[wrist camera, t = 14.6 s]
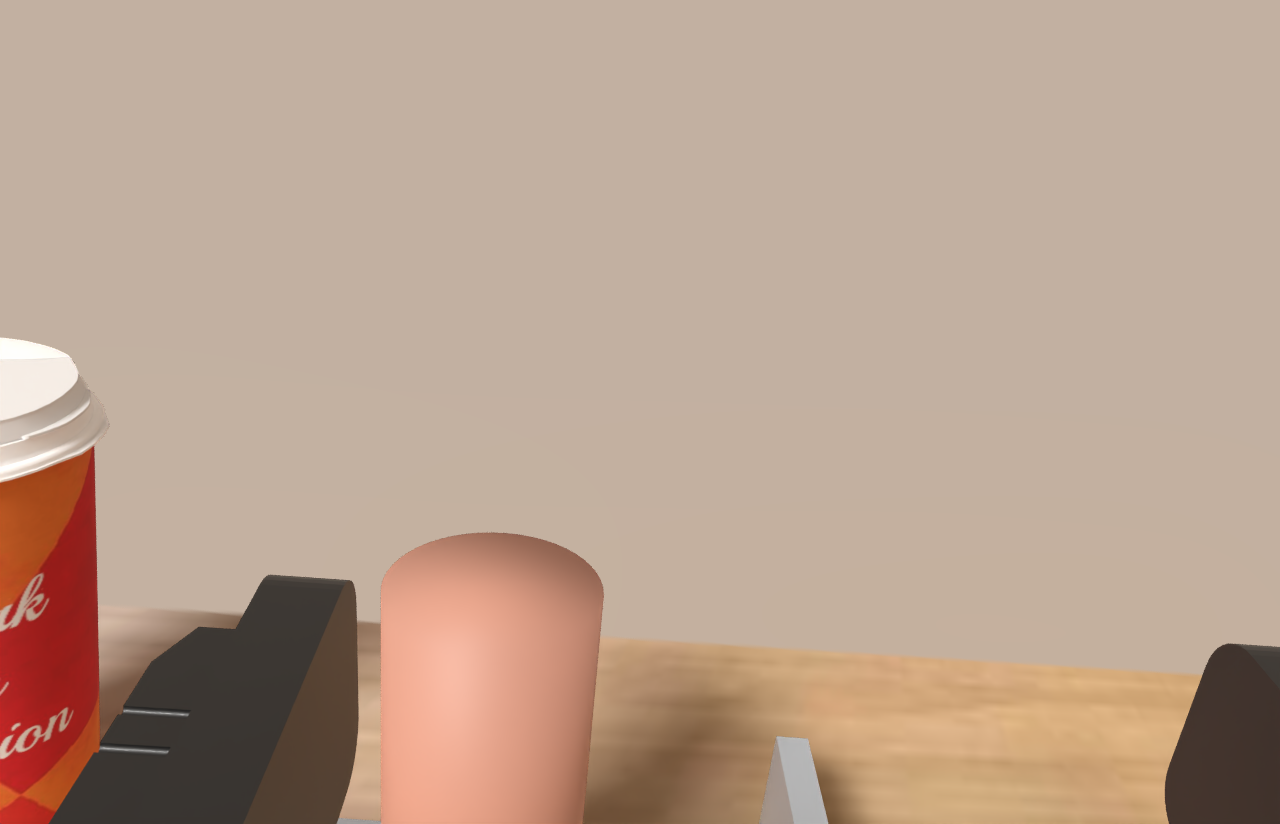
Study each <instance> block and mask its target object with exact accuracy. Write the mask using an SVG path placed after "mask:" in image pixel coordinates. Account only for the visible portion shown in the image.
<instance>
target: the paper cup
mask: <svg viewBox="0 0 1280 824" xmlns="http://www.w3.org/2000/svg"><path fill="white" fill-rule="evenodd" d="M109 427H110V424H109V421H108V419H107V416H106V413H105V409H104V406H103V405H102V403H101V402H100V400H99V399H98V398H97V396H96V395H95V394H94V393H93V392H92V391H90V390H89V389H88V386H87V384H86V382H85V381H84V380H83V378H81V377H80V375H79V373H78V370H77V367H76V365H75V363H74V361H73V360H72V359H71V357H70V356H68V355H67V354H65V353H63V352H61V351H59V350H57V349H54V348H51V347H48V346H45V345H42V344H37V343H33V342H28V341H22V340H16V339H9V338H0V824H49V822H50V821H51V819H52V817H53V816H54V814H55V813H56V811H57V810H58V808H59V806H60V805H61V803H62V802H63V800H64V799H65V797H66V795H67V794H68V792H69V791H70V789H71V788H72V786H73V784H74V783H75V781H76V780H77V778H78V777H79V775H80V773H81V772H82V770H83V769H84V767H85V766H86V764H87V762H88V761H89V759H90V758H91V756H92V755H93V753H94V752H97V753H98V752H99V749H100V717H99V649H98V601H97V600H98V598H97V551H96V508H95V507H96V506H95V461H94V460H95V459H94V445H96V444H97V442H98V441H99V440H100V439H101V438H102V437H103V436H104V435H105V434H106V432H107V430H108V428H109Z"/></svg>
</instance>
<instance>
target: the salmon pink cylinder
mask: <svg viewBox="0 0 1280 824" xmlns="http://www.w3.org/2000/svg"><path fill="white" fill-rule="evenodd" d="M603 598H604V593H603V586H602V583H601V580H600V578H599V576H598V575H597V573H596V572H595V570H594V569H593V568H592V567H591V566H590V565H589V564H588V563H587V562H586V561H585V560H584V559H582V558H581V557H579V556H578V555H577V554H575V553H573V552H571V551H570V550H568V549H566V548H563V547H561V546H559V545H557V544H554V543H551V542H548V541H545V540H541V539H538V538H533V537H529V536H523V535H518V534H508V533H472V534H463V535H457V536H451V537H447V538H442V539H439V540H435V541H433V542H429V543H427V544H424V545H422V546H419V547H417V548H415V549H414V550H412V551H410V552H408V553H406V554H405V555H404V556H402V557H401V558H399V559H398V560H397V561H396V562H395V563H394V564H393V565H392V566H391V567H390V569H389V570H388V571H387V573H386V575H385V577H384V578H383V582H382V585H381V824H583V816H584V805H585V794H586V783H587V772H588V761H589V751H590V740H591V729H592V718H593V707H594V696H595V685H596V674H597V663H598V653H599V642H600V631H601V620H602V609H603Z"/></svg>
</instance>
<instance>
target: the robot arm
mask: <svg viewBox="0 0 1280 824" xmlns="http://www.w3.org/2000/svg"><path fill="white" fill-rule="evenodd" d="M357 735H358V663H357V615H356V594H355V588H354V585H353V582H352V581H350V580H337V579H323V578H322V579H321V578H309V577H293V576H280V575H268V576H266V577H265V578H264V579H263V581H262V582H261V584H260V585H259V587H258V589H257V591H256V593H255V595H254V597H253V598H252V600H251V602H250V604H249V606H248V608H247V609H246V611H245V613H244V615H243V616H242V618H241V620H240V622H239V624H238V626H237V627H236V629H223V628H208V627H198V628H197V629H195V630H194V631H193V632H191V633H190V634H189V635H187V636H186V637H185V638H183V639H182V640H180V641H179V642H178V643H176V644H175V645H174V646H172V647H171V648H170V649H168V650H167V651H166V652H164V653H163V654H162V655H160V656H159V657H158V658H156V659H155V660H153V661H152V662H151V663H150V665H149V667H148V668H147V670H146V671H145V673H144V674H143V676H142V678H141V679H140V681H139V682H138V684H137V685H136V687H135V689H134V690H133V692H132V693H131V695H130V696H129V698H128V700H127V701H126V703H125V704H124V709H123V713H122V715H117V717H116V718H115V720H114V722H113V723H112V725H111V726H110V728H109V729H108V731H107V733H106V734H105V736H104V737H103V739H102V740H101V742H100V749H99V752H98V753H97V752H94V753H93V755H92V756H91V758H90V759H89V761H88V762H87V764H86V766H85V767H84V769H83V770H82V772H81V773H80V775H79V777H78V778H77V780H76V781H75V783H74V784H73V786H72V788H71V789H70V791H69V792H68V794H67V795H66V797H65V799H64V800H63V802H62V803H61V805H60V806H59V808H58V810H57V811H56V813H55V814H54V816H53V817H52V819H51V821H50V822H49V824H337V821H338V818H339V815H340V812H341V809H342V806H343V802H344V799H345V796H346V793H347V790H348V786H349V783H350V779H351V775H352V770H353V765H354V759H355V752H356V745H357ZM1165 804H1166V812H1167V817H1168V821H1169V824H1280V647H1272V646H1257V645H1243V644H1242V645H1241V644H1225V645H1222V646H1221V647H1219V648H1217V649H1216V650H1215V651H1214V653H1213V654H1212V655H1211V657H1210V658H1209V660H1208V663H1207V665H1206V667H1205V670H1204V673H1203V675H1202V678H1201V681H1200V684H1199V686H1198V689H1197V692H1196V694H1195V697H1194V700H1193V702H1192V705H1191V708H1190V711H1189V713H1188V716H1187V719H1186V721H1185V724H1184V727H1183V730H1182V732H1181V735H1180V738H1179V740H1178V743H1177V746H1176V749H1175V751H1174V754H1173V757H1172V759H1171V762H1170V765H1169V768H1168V771H1167V776H1166V781H1165Z"/></svg>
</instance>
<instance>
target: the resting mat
mask: <svg viewBox="0 0 1280 824" xmlns="http://www.w3.org/2000/svg"><path fill="white" fill-rule="evenodd" d="M337 824H381V821H371V820H357V819H343V818H338V821H337Z"/></svg>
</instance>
